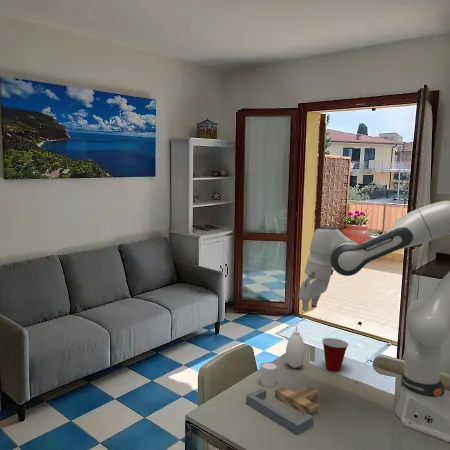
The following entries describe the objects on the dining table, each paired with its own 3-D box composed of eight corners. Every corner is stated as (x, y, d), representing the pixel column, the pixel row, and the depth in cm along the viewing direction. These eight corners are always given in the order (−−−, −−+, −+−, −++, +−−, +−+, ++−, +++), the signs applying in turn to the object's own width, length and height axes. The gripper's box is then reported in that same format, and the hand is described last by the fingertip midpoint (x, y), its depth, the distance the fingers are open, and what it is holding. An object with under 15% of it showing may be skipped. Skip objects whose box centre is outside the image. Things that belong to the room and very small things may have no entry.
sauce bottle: (287, 361, 186) (289, 321, 183) (305, 365, 183) (307, 324, 181) (283, 369, 178) (285, 327, 176) (301, 372, 175) (304, 330, 173)
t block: (331, 405, 151) (332, 397, 151) (310, 417, 143) (310, 409, 143) (296, 387, 163) (296, 380, 163) (274, 397, 155) (275, 389, 155)
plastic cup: (351, 368, 181) (353, 341, 179) (339, 377, 172) (341, 348, 171) (327, 360, 188) (329, 334, 186) (315, 368, 180) (317, 341, 178)
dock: (313, 425, 139) (313, 416, 138) (297, 434, 133) (297, 425, 133) (262, 396, 156) (262, 388, 156) (246, 403, 151) (246, 395, 150)
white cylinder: (276, 388, 162) (277, 370, 161) (258, 386, 163) (259, 368, 162) (277, 380, 169) (278, 363, 168) (260, 377, 170) (261, 360, 169)
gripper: (316, 278, 141) (307, 317, 143) (335, 269, 159) (326, 304, 161) (298, 272, 144) (290, 310, 147) (319, 264, 162) (311, 299, 164)
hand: (309, 307), depth 154 cm, fingers open, 8 cm apart
